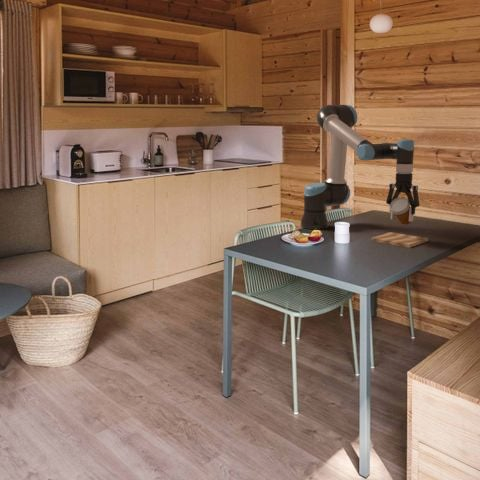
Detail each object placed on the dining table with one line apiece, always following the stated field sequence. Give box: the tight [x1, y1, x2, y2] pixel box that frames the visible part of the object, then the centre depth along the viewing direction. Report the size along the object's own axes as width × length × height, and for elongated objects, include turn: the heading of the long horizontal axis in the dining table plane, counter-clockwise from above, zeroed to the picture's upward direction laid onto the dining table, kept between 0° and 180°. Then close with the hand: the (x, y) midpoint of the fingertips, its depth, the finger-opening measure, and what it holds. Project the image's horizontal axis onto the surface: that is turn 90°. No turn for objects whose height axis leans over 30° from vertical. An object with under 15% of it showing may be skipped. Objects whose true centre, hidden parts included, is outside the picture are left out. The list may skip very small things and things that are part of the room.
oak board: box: [370, 232, 429, 249], centre depth 267 cm, size 20×18×2 cm
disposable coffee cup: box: [389, 196, 413, 226], centre depth 265 cm, size 10×10×12 cm
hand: (401, 219), depth 265 cm, fingers closed on disposable coffee cup, 9 cm apart
